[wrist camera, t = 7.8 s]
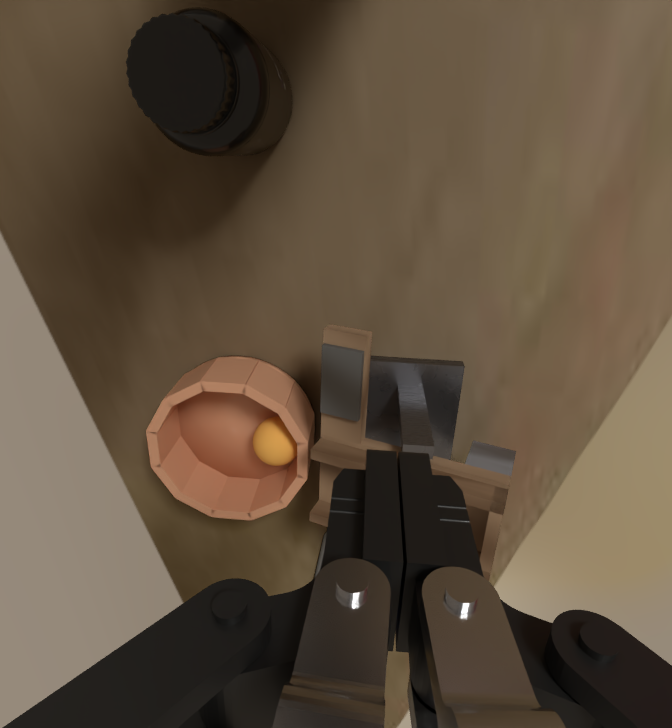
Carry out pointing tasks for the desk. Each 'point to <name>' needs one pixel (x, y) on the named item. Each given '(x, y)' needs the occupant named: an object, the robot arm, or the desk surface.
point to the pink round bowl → (230, 438)
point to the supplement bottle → (209, 83)
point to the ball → (274, 442)
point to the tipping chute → (348, 445)
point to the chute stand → (414, 403)
